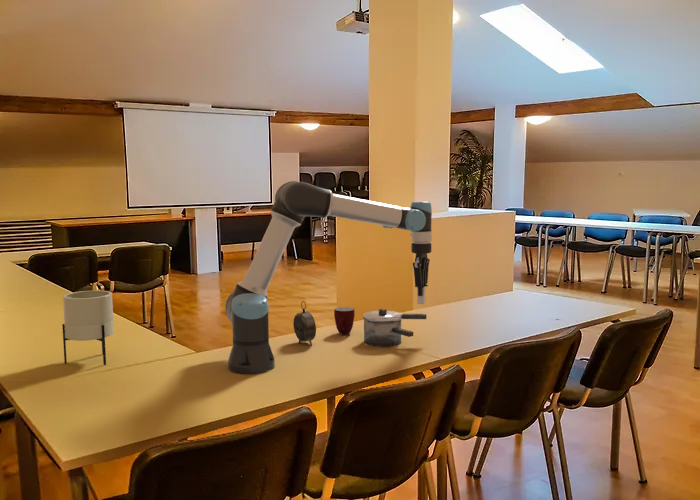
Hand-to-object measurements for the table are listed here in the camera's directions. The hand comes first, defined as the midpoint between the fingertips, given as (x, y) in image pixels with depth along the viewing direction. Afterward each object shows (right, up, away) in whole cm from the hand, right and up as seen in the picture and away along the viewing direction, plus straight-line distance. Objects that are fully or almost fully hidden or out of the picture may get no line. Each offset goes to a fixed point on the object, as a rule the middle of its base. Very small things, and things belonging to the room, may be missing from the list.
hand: (421, 303), depth 233 cm
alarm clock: (-45, -15, -4) cm, 47 cm away
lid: (-10, -5, -3) cm, 12 cm away
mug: (-30, -13, +9) cm, 34 cm away
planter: (-116, -18, -25) cm, 120 cm away
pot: (-12, -15, -6) cm, 20 cm away
